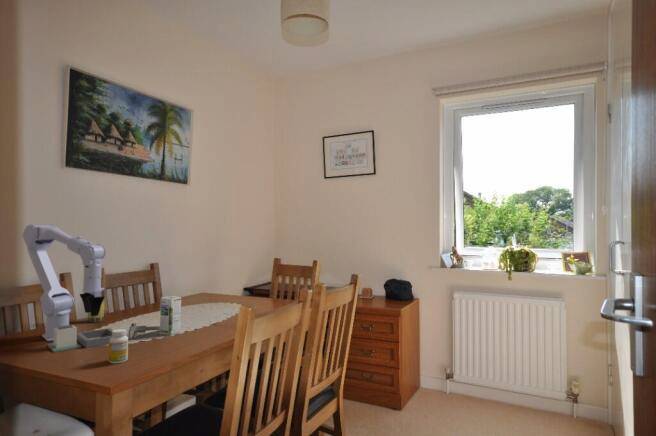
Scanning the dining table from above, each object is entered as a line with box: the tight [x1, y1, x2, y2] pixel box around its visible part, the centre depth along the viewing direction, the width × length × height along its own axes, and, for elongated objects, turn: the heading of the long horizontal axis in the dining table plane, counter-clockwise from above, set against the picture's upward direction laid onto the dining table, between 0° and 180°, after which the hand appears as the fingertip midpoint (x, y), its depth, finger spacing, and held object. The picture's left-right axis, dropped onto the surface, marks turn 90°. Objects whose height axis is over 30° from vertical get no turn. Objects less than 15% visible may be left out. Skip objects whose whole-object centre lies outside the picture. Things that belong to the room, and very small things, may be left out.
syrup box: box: [159, 295, 182, 336], centre depth 163 cm, size 6×6×14 cm
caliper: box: [127, 322, 160, 341], centre depth 162 cm, size 20×1×6 cm, turn 156°
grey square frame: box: [77, 327, 114, 349], centre depth 151 cm, size 13×11×2 cm
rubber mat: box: [47, 342, 82, 353], centre depth 143 cm, size 10×8×1 cm
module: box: [53, 324, 78, 348], centre depth 143 cm, size 4×6×7 cm
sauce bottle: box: [87, 275, 106, 323], centre depth 180 cm, size 6×6×20 cm
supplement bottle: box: [108, 328, 129, 364], centre depth 130 cm, size 5×5×10 cm
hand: (91, 313), depth 151 cm, fingers open, 7 cm apart
